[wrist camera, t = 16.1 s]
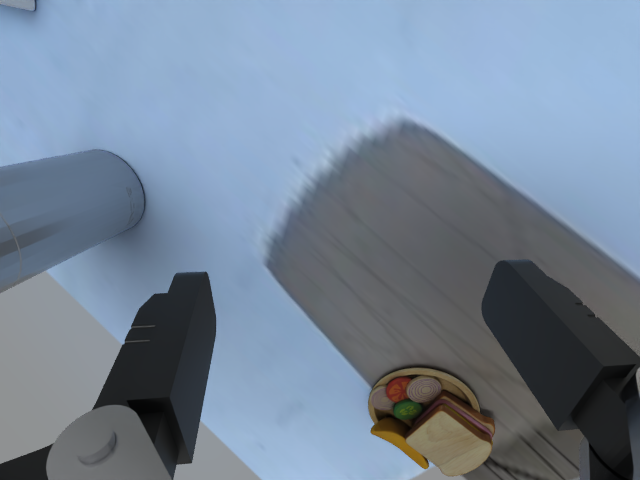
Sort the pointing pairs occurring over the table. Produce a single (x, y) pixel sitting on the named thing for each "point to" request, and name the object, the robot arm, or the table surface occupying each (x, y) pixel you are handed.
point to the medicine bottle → (20, 4)
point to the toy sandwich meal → (431, 419)
